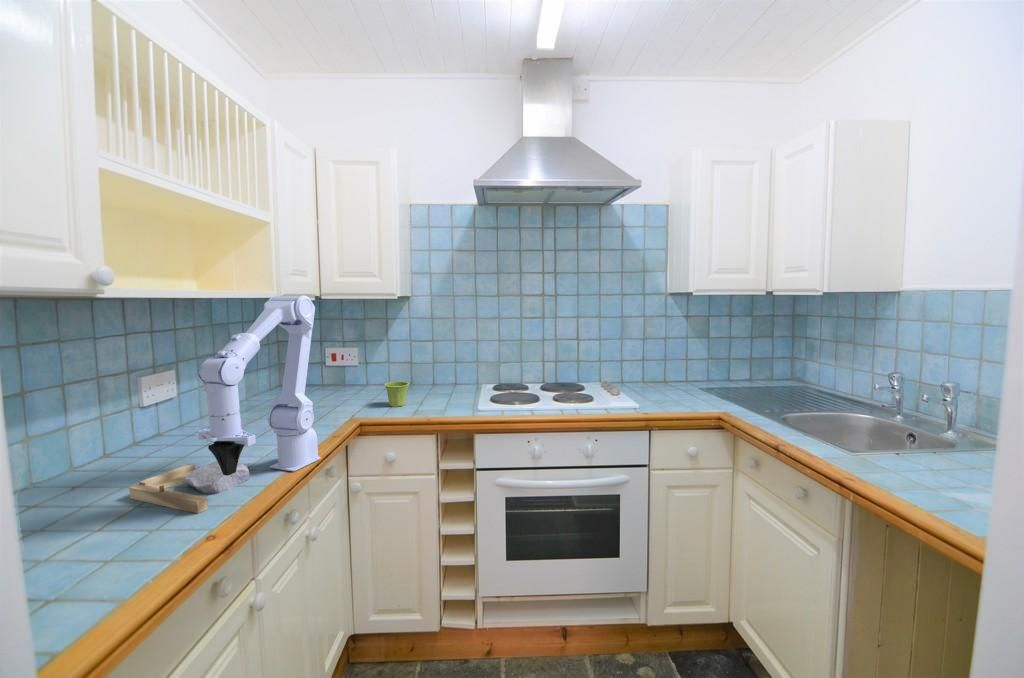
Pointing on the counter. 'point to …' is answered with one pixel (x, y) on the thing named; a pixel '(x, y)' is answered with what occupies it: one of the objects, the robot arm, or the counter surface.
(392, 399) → the plant pot
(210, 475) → the stone block
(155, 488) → the fence
